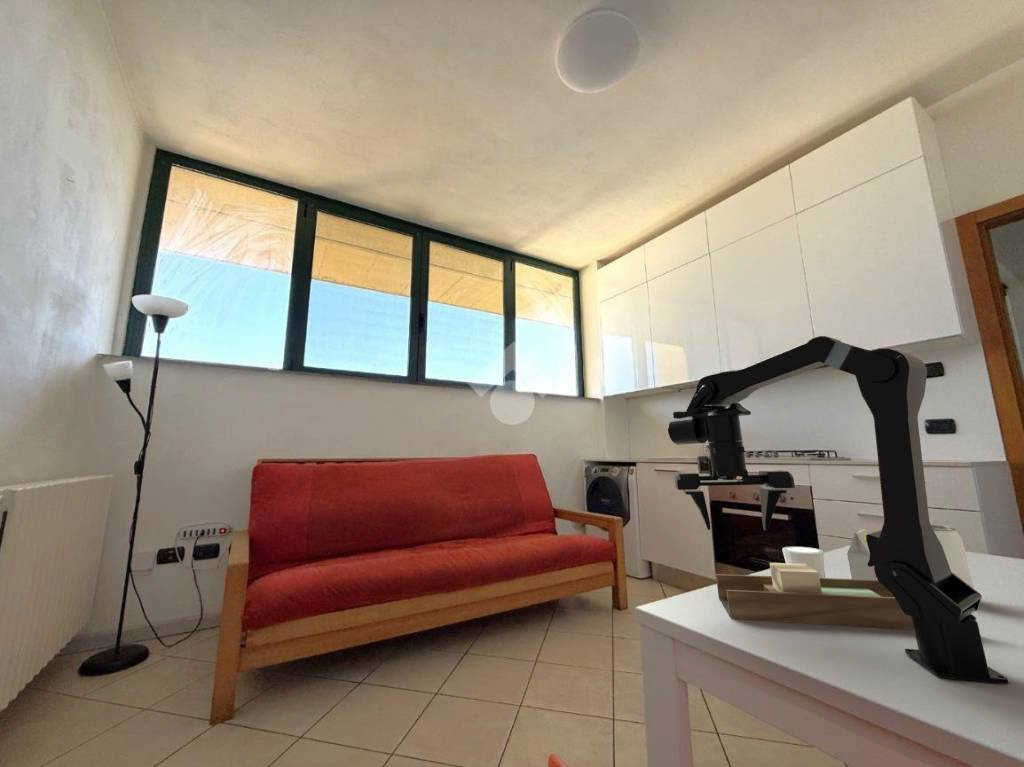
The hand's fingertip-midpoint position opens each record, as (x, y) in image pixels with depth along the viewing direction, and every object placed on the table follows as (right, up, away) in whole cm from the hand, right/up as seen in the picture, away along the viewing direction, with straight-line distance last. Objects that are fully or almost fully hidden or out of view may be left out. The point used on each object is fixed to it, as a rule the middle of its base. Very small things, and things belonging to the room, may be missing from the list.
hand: (736, 529), depth 73 cm
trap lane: (+12, -12, -6) cm, 17 cm away
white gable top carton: (+31, -14, +8) cm, 35 cm away
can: (+36, -12, -2) cm, 38 cm away
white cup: (+18, -14, +8) cm, 25 cm away
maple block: (+8, -9, -4) cm, 13 cm away
